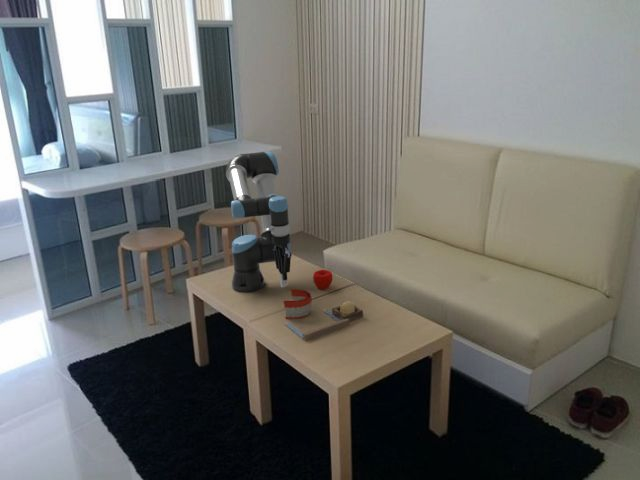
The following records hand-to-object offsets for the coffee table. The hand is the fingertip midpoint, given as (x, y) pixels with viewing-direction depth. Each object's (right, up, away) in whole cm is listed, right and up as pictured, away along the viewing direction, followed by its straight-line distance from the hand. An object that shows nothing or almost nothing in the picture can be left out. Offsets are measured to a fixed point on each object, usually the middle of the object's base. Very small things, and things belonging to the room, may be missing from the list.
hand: (284, 286), depth 245 cm
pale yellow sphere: (+27, -11, -12) cm, 31 cm away
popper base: (+27, -11, -12) cm, 31 cm away
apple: (+17, -2, +15) cm, 23 cm away
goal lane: (+14, -14, -17) cm, 26 cm away
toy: (+7, -11, -7) cm, 15 cm away
